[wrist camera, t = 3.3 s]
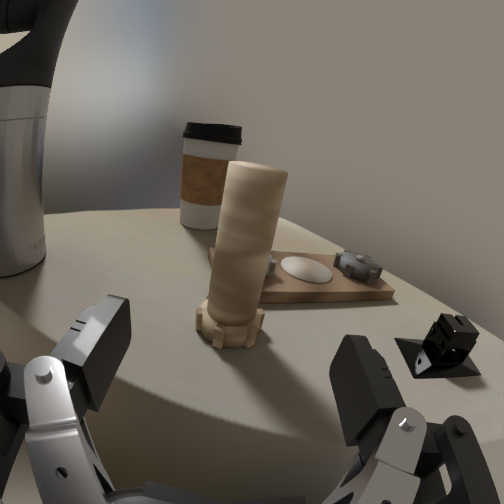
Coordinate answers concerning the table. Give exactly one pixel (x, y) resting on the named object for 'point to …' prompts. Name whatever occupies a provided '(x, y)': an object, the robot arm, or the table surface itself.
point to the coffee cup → (206, 172)
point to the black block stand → (442, 349)
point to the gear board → (321, 278)
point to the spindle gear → (241, 254)
